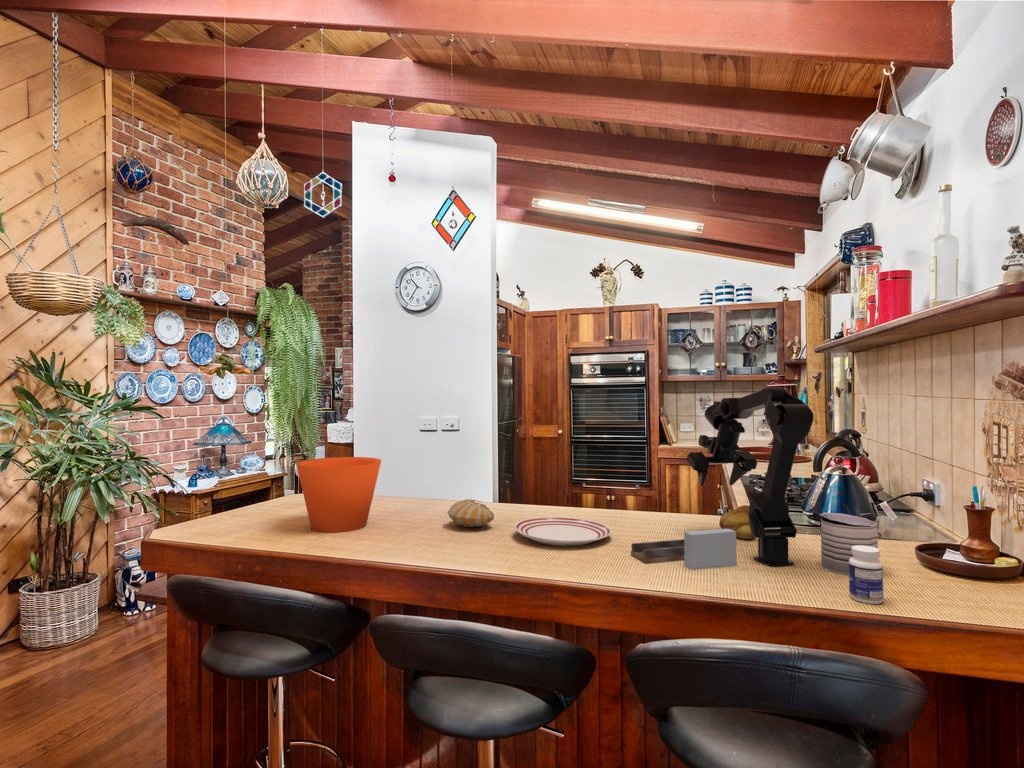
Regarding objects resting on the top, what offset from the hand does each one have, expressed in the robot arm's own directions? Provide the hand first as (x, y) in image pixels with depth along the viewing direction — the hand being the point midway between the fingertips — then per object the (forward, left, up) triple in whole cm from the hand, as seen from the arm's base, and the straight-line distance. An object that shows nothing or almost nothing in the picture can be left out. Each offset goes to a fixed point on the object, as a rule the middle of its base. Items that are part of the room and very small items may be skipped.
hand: (715, 485), depth 161 cm
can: (-37, -8, -14) cm, 41 cm away
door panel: (-26, +21, -14) cm, 36 cm away
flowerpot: (+39, +106, -14) cm, 113 cm away
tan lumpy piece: (-4, -4, -14) cm, 15 cm away
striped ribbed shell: (+30, +66, -14) cm, 73 cm away
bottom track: (-17, +26, -14) cm, 34 cm away
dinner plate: (+8, +45, -14) cm, 48 cm away
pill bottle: (-53, +5, -14) cm, 55 cm away
